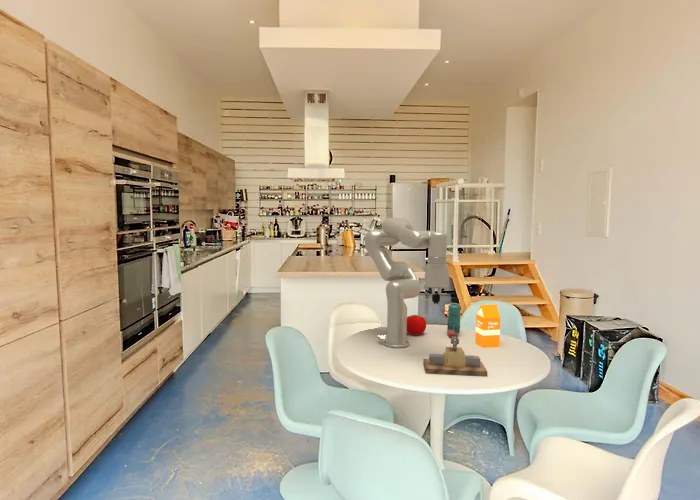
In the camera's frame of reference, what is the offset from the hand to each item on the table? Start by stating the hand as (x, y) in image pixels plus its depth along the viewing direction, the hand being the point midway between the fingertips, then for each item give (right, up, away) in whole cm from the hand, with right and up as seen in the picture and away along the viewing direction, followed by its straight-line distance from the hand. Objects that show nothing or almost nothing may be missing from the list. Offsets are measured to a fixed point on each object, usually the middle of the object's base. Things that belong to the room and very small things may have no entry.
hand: (435, 303), depth 190 cm
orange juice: (+30, -24, +25) cm, 46 cm away
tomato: (-3, -22, +43) cm, 49 cm away
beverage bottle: (+17, -22, +42) cm, 50 cm away
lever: (+6, -15, -4) cm, 17 cm away
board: (+6, -26, -9) cm, 28 cm away
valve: (+6, -24, -10) cm, 27 cm away
